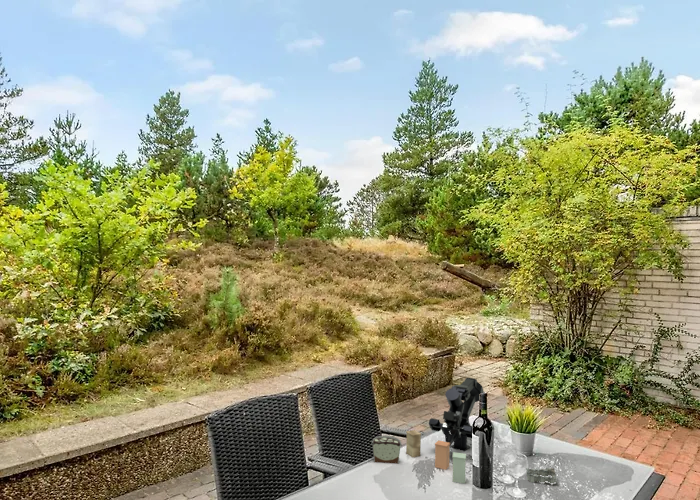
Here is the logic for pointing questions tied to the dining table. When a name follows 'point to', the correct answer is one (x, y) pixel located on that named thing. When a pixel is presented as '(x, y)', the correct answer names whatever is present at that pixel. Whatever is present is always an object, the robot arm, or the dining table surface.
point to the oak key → (413, 443)
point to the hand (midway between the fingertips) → (447, 447)
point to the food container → (386, 449)
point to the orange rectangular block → (442, 454)
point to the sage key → (459, 467)
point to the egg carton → (535, 474)
